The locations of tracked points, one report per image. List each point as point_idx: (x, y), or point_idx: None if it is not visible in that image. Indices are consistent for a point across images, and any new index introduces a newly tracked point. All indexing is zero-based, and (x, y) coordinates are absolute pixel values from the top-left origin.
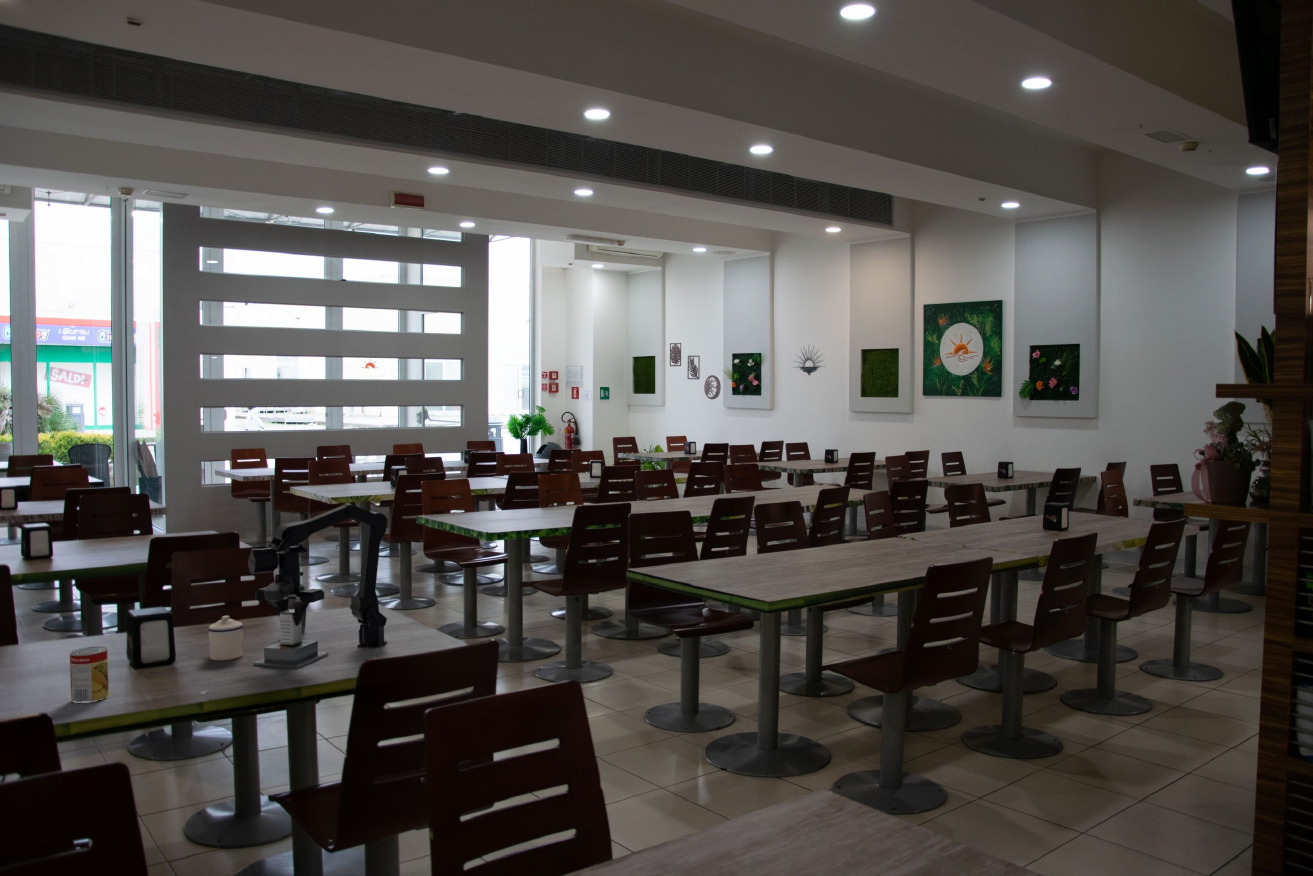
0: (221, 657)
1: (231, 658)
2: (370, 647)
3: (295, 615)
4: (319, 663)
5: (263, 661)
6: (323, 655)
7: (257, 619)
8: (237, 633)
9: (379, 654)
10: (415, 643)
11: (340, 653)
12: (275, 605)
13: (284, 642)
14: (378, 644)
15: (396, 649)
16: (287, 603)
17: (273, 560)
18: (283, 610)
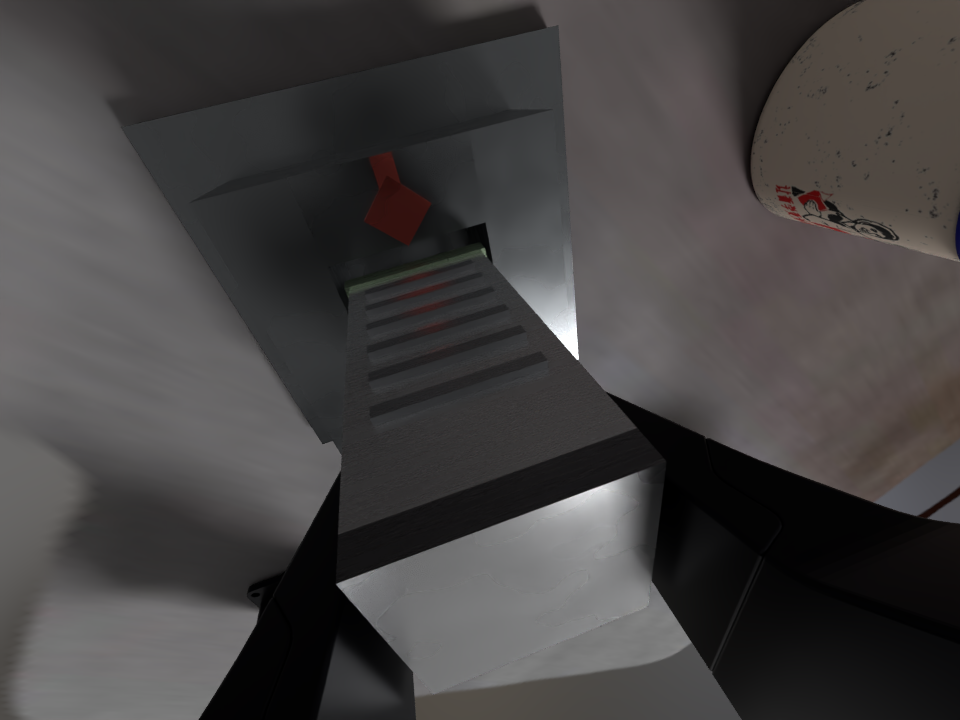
0: (848, 14)
1: (780, 79)
2: (272, 578)
3: (331, 561)
4: (175, 319)
5: (505, 92)
6: (303, 408)
7: (882, 490)
8: (941, 142)
9: (111, 569)
10: (194, 676)
11: (306, 478)
12: (940, 566)
13: (436, 262)
14: (259, 607)
15: (151, 626)
16: (740, 705)
17: None
18: (671, 542)
